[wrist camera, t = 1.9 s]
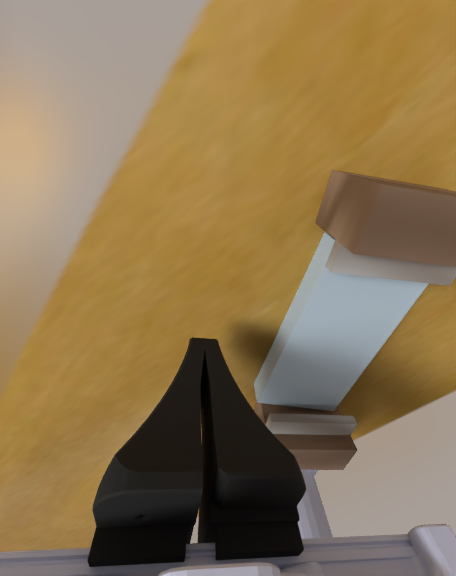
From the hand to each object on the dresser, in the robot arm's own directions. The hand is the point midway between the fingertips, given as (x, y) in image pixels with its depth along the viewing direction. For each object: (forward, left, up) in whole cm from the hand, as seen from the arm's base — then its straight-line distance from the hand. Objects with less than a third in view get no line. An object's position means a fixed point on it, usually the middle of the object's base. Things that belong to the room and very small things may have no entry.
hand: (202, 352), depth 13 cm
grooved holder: (0, -8, -3) cm, 9 cm away
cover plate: (0, -8, -3) cm, 9 cm away
